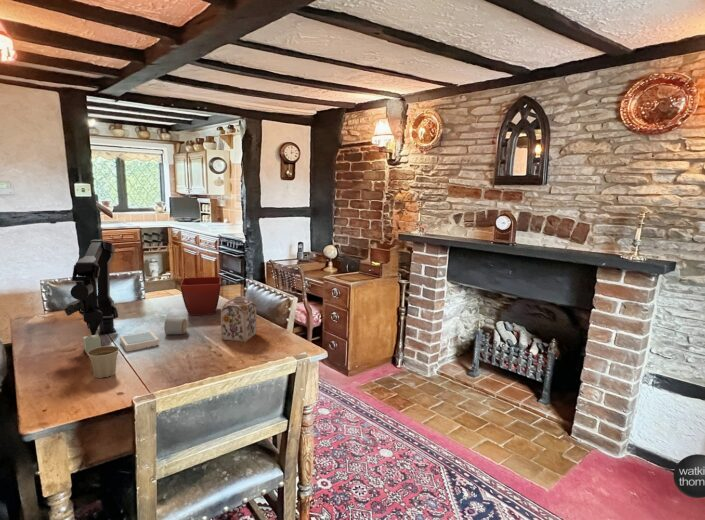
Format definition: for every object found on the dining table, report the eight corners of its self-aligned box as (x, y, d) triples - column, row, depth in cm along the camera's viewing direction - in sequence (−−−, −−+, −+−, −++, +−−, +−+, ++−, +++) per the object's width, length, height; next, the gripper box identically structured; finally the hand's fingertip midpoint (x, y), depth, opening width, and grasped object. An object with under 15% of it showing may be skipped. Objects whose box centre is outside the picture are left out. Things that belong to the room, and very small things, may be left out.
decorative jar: (245, 342, 176) (245, 301, 173) (220, 340, 178) (219, 299, 175) (257, 333, 187) (257, 295, 184) (233, 331, 190) (233, 293, 187)
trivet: (120, 342, 172) (119, 336, 171) (151, 336, 179) (150, 330, 179) (126, 351, 163) (125, 345, 162) (158, 345, 170) (158, 338, 170)
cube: (84, 349, 164) (83, 336, 163) (99, 346, 167) (98, 334, 167) (86, 352, 160) (85, 340, 160) (101, 350, 164) (100, 338, 163)
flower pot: (97, 368, 147) (96, 345, 145) (125, 368, 148) (124, 345, 146) (83, 380, 138) (81, 356, 136) (112, 380, 138) (111, 356, 137)
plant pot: (184, 307, 224) (183, 277, 221) (221, 306, 230) (220, 276, 227) (181, 318, 206) (179, 285, 203) (221, 316, 212) (220, 283, 209)
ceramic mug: (183, 336, 181) (183, 319, 180) (164, 336, 180) (163, 319, 179) (189, 329, 191) (189, 312, 190) (171, 329, 190) (170, 313, 189)
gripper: (60, 291, 162) (64, 329, 165) (65, 301, 148) (69, 343, 151) (94, 287, 169) (96, 324, 172) (101, 297, 155) (104, 337, 158)
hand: (91, 331), depth 163 cm, fingers open, 9 cm apart
